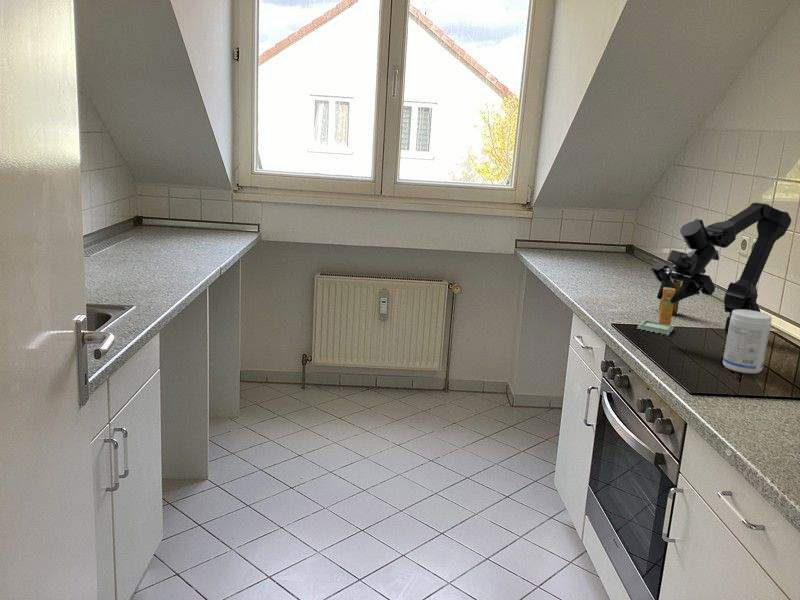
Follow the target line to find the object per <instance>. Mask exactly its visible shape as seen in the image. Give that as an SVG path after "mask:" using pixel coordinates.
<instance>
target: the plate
mask: <svg viewBox="0 0 800 600" xmlns="http://www.w3.org/2000/svg"><path fill="white" fill-rule="evenodd" d="M674 328H675V327H674V326H673V324H670V325H669V324H661V323H659V321H654V320H648V319H643V321H642V322H640V324H638V325H637V328H636V329H641V330H640V331H642V330H646V331H645V332H647V331H650V332H649V333H652V332H655V333H654V334H657V333H661V334H660V335H663V334H666V335H665V336H670V334H671V333H672V331H673V330H674ZM670 332H671V333H670Z"/></svg>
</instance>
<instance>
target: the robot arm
mask: <svg viewBox="0 0 800 600" xmlns="http://www.w3.org/2000/svg"><path fill="white" fill-rule="evenodd" d="M791 223H792V218H791V216H790V214H789V212H786V211H782V210H780V209H777V208H776V207H773V206H771V205H769V204H768V203H764V202H763V203H762V202H752V203H750V205H749V206H748V207H746V208H745V209H743V210H741V211H740V212H738V213H736V214H735V215H734V216H731V217H730V218H729V219H727V220H724V221H718V222H714V223H711V224H708V225H706V226H705V224H704V221H703V220H702V219H699V218H695V219H694V221H690V222H687V223H686V224H683V225H682V226H681V228H680V229H679V230H680V231H679V232H680V234H681V237H682V239H683V240H684V242H685V244H686V246H687V247H688V249H689V250H691V251H690V252H688V253H686V252H683V251H678V250H673V249H671V250H670V253H669V254H668V257H667V259H666V261H667V262H669V263H671V264H672V268H673V270H675V271H673V270H671V268H670V267H669V265H668V264H663V263H660V262H656V263H654V264H653V266H652V267H651V268H650V269H651V271H652V273H653V275H654V276H655V278H656V280H657V282H659V283H660V285H659V290H658V293H657V296H656V298H657V299H658V300H660V299H661V298H662V296H663V288H664V287H667V288H675V286H674V284H673V281H674V279H675V280H677V281H681V285H680V286H681V287H680V288H679V290H678V291H677V292H676V293H675V295H674V296H673V297H672V299H671V303H675V302H678V301H679V302H680V301H682V300H684V299H687V298H690V297H692V296H693V297H694V296H696V295H700V291H701V293H702V294H703V295H706V296H712V295H713V293H715V291H716V285H715V284H714V282H713V280H712V278H711V276H710V275H707V274H705V273H707V271H706V267H707V266H708V265H709V264H710V263H711V261H712V260H714V261H719V260H720V255H719V250H717V249H716V248H715V247H718V248H723V249H725V248H728V247H730V245H731V244H732V243H734V242H735V241H736V238H737V235H739V234H740V233H742V232H743V231H745V230H746V229H748V228H750V227H751V226H752V225H754V224H756V230H757V235H758V236H757V237H756V240H755V242H754V245H753V248H752V250H751V252H750V254H749V256H748V258H747V261H746V263H745V266H744V268H743V269H742V273H741V275H740V277H739V279H738V280H736V281H735V282H729V284H728V286H727V290H726V291H725V292H724V296H723V302H724V303H723V304H724V307H723V308H724V312H725V313H729V316H727V317H726V319H725V321H726V322H725V327H724V331H725V334H726V335H728V329H729V323H730V318H731V315H732V311H733V310H737V309H744V310H752V311H758V312H761V310H760V308H759V306H758V303H757V299H758V289H757V284H758V282H759V280H760V277H761V275H762V272H763V271H764V269H765V266H766V264H767V261H768V259H769V257H770V254H771V252H772V250H773V248H774V245H775V243H776V241H778V240H779V239H781V238H782V237H783V236H785V234H786V232H787V231H788V229H789V228H790V225H792V224H791Z"/></svg>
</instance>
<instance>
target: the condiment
mask: <svg viewBox="0 0 800 600" xmlns="http://www.w3.org/2000/svg"><path fill="white" fill-rule="evenodd" d="M673 284H674V286H675V289H676V291H675V293H676V292H677V291H678V290H679V288H680V287H681V286H682V282H681V281H677V280H675V279H674V281H673ZM661 303H662V298H661V299H659V302H658V305H659V306H658V310H659V312H660V310H661ZM679 304H680V301H678V302H675V303H674V304H673V311H672V316H680V317H681V316H687V315H686V314H684V313H682V312H680V311H679V312H678V314H677V311H678V310H679ZM659 312H658V313H659ZM676 314H677V315H676Z"/></svg>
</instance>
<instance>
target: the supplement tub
mask: <svg viewBox="0 0 800 600" xmlns="http://www.w3.org/2000/svg"><path fill="white" fill-rule="evenodd" d="M772 318H773V317H772V315H770V314H768V313H765V312H758V311H752V310H744V309H737V310H733V311H732V315H731V318H730V323H729V329H728V334H726V340H725V347H724V352H723V358H722V364H723V366H724V367H725V368H727V369H728V370H731V371H734V372H736V373H737V372H738V373H742V374H748V375H749V374H750V375H751V374H754V375H755V374H759V373H761V372H762V370H763V368H764V364H765V363H764V362H765V358H766V352H767V348H768V342H769V338H770V337H769V336H770V333H771V327H772V320H773V319H772Z"/></svg>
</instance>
